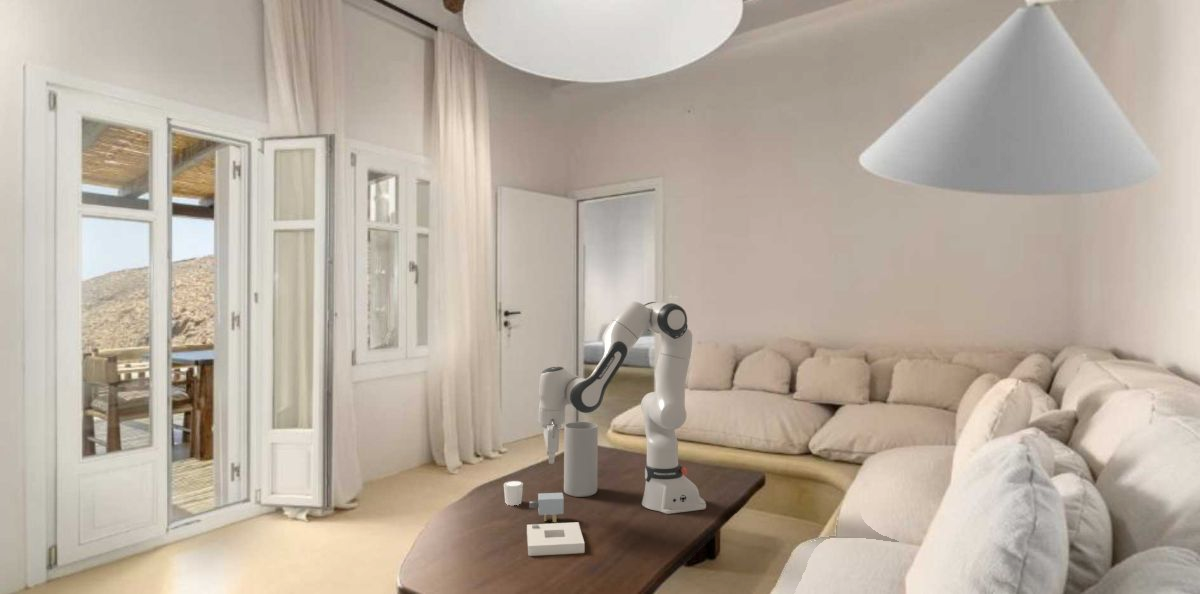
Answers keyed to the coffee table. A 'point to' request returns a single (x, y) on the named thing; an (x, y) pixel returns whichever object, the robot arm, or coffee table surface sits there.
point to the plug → (549, 504)
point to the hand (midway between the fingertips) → (550, 458)
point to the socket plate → (554, 539)
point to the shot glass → (513, 492)
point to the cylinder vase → (580, 458)
